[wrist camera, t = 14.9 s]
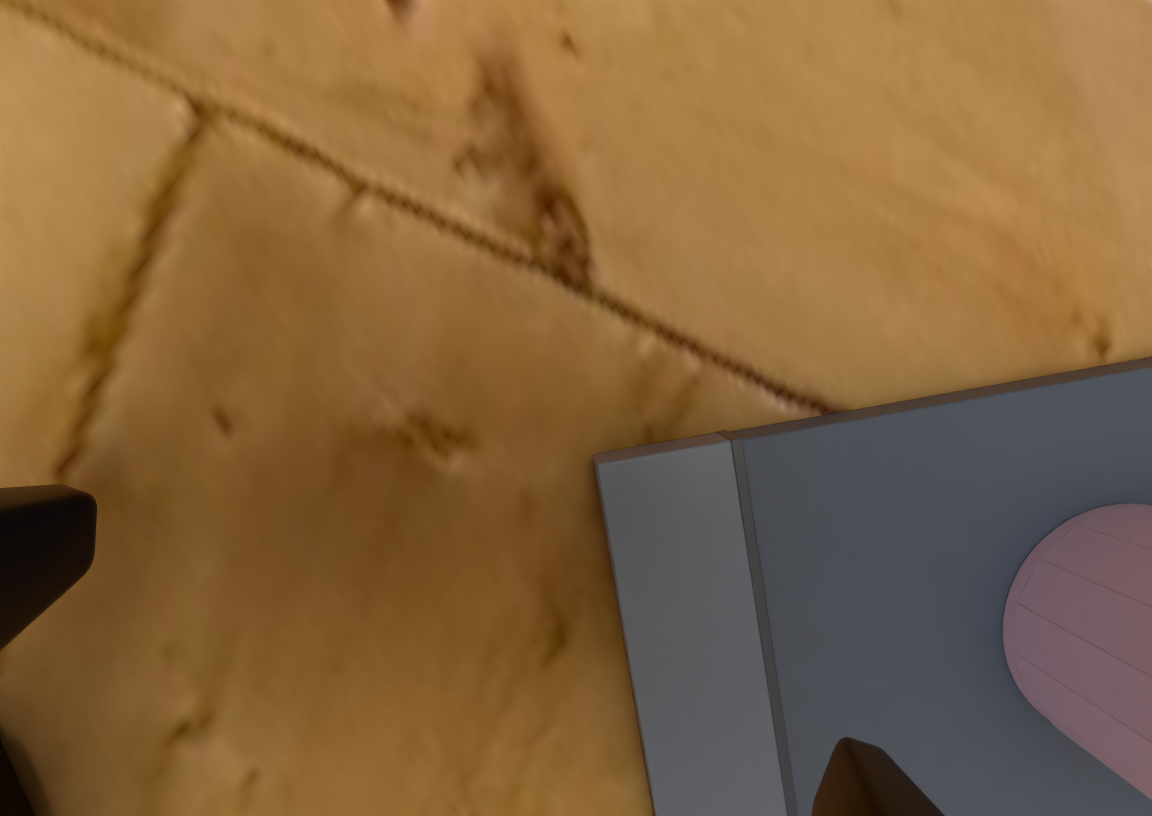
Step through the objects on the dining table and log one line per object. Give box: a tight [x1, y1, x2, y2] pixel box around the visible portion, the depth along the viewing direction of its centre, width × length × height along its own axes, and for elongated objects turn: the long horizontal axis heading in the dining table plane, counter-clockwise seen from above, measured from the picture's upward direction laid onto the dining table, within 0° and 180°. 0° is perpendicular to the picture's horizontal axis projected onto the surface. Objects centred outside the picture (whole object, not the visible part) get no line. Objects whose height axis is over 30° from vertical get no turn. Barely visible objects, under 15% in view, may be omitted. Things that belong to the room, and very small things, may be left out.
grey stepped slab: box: [592, 357, 1152, 816], centre depth 21 cm, size 20×14×2 cm
